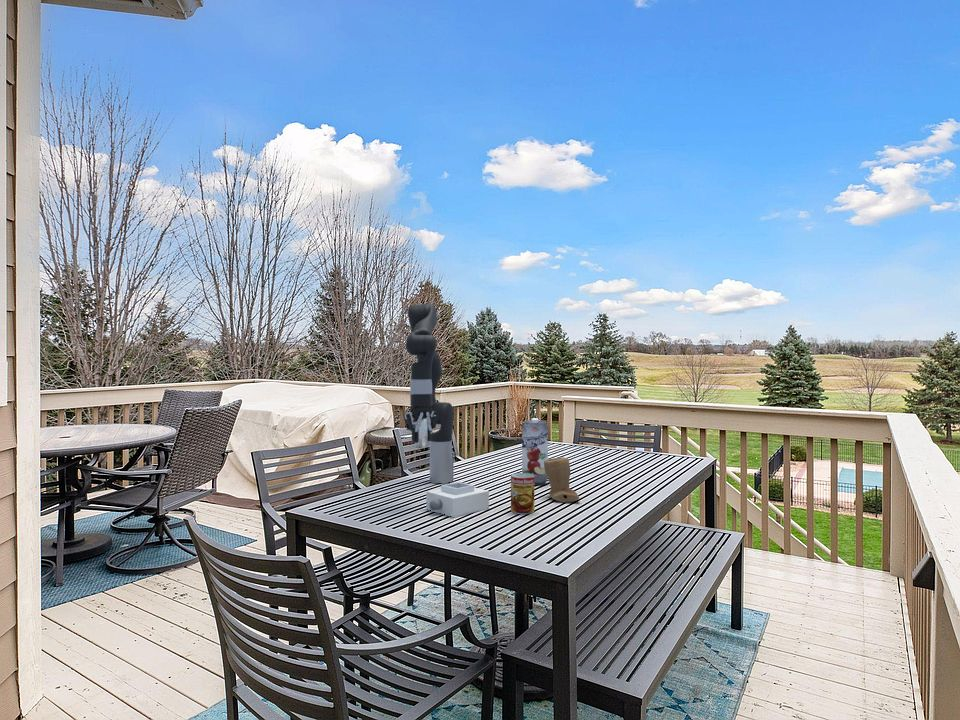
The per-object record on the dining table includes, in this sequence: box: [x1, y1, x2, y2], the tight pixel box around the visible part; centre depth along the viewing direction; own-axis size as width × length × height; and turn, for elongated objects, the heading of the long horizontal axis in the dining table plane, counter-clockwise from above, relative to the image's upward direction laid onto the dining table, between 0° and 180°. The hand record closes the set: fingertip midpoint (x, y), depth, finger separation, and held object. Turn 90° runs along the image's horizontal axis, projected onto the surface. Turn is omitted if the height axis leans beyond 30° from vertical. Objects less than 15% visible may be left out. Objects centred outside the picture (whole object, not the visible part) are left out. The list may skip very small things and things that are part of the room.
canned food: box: [510, 472, 535, 515], centre depth 189 cm, size 8×8×12 cm
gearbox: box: [425, 481, 490, 518], centre depth 190 cm, size 19×14×8 cm
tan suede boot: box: [544, 456, 580, 503], centre depth 206 cm, size 15×12×15 cm
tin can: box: [414, 418, 429, 449], centre depth 195 cm, size 4×4×10 cm
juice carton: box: [521, 417, 549, 486], centre depth 232 cm, size 9×10×27 cm
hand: (421, 441), depth 195 cm, fingers closed on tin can, 4 cm apart
